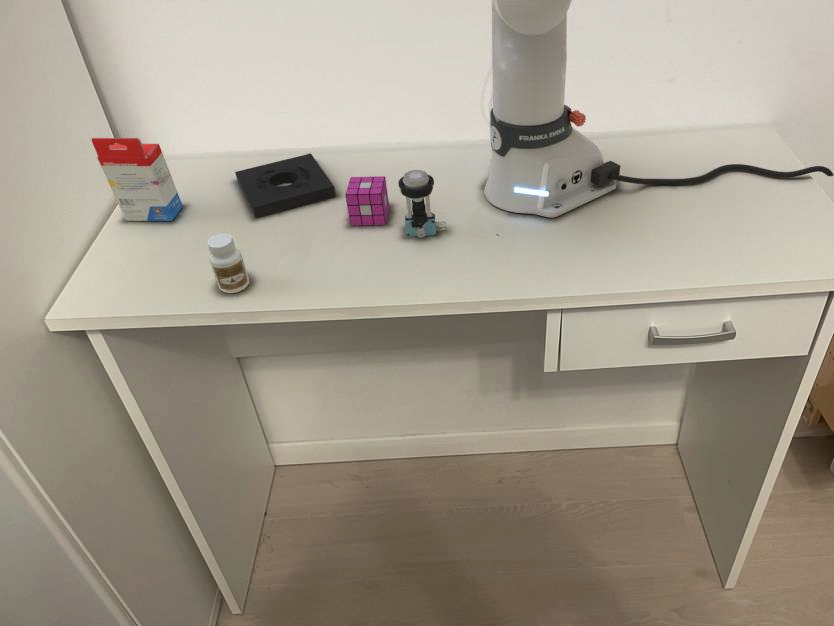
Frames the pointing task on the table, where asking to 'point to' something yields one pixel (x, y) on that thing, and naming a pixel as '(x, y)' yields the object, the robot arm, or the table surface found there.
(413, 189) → the push button
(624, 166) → the table surface
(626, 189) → the table surface
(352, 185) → the puzzle toy
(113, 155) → the ink box
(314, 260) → the table surface
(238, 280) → the pill bottle
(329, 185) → the pad
